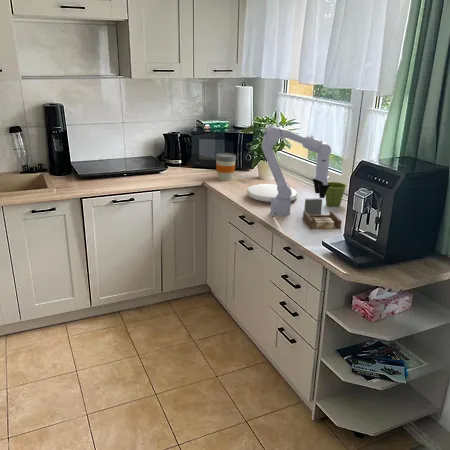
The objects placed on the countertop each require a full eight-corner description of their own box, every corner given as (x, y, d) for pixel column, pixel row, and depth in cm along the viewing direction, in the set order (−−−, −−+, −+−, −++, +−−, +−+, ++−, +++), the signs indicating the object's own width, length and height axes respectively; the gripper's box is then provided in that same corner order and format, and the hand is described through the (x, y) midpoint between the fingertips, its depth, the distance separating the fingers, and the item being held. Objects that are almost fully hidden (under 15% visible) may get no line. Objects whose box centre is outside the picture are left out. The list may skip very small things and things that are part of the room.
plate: (283, 181, 271) (307, 194, 248) (281, 192, 273) (305, 206, 250) (240, 180, 260) (261, 193, 237) (238, 191, 262) (259, 206, 239)
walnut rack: (310, 231, 210) (311, 221, 208) (302, 220, 223) (303, 210, 221) (340, 231, 211) (341, 220, 210) (331, 220, 224) (332, 210, 223)
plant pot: (327, 200, 254) (330, 180, 250) (348, 205, 247) (350, 184, 243) (317, 205, 245) (319, 184, 241) (337, 210, 238) (340, 189, 234)
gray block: (304, 215, 229) (306, 199, 226) (303, 213, 231) (305, 198, 228) (320, 215, 230) (322, 199, 227) (319, 213, 232) (321, 198, 229)
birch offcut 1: (314, 226, 214) (315, 220, 213) (313, 224, 216) (313, 218, 214) (331, 225, 214) (332, 219, 213) (330, 224, 216) (330, 218, 215)
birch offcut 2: (316, 228, 211) (316, 222, 210) (315, 226, 213) (315, 220, 212) (333, 228, 212) (334, 222, 211) (332, 226, 213) (332, 220, 212)
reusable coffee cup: (212, 180, 287) (213, 156, 282) (218, 175, 299) (219, 152, 293) (232, 182, 284) (232, 157, 279) (237, 177, 295) (238, 153, 290)
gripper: (335, 171, 215) (332, 199, 220) (325, 164, 229) (323, 190, 233) (320, 171, 214) (317, 200, 219) (311, 164, 228) (309, 191, 233)
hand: (319, 195), depth 226 cm, fingers open, 7 cm apart
